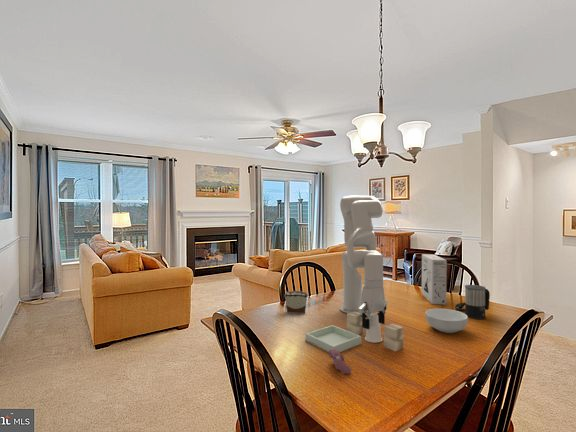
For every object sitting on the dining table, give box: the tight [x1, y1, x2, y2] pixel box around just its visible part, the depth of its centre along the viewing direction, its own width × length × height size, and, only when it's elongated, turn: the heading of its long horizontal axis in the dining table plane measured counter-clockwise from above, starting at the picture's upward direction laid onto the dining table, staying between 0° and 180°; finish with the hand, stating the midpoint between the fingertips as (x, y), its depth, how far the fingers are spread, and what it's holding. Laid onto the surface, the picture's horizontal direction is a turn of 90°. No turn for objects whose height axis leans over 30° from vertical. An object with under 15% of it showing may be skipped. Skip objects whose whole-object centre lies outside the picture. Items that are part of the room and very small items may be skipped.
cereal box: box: [421, 253, 448, 306], centre depth 188 cm, size 22×8×25 cm, turn 172°
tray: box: [304, 324, 362, 353], centre depth 127 cm, size 16×16×3 cm
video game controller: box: [327, 349, 352, 375], centre depth 107 cm, size 10×5×7 cm, turn 5°
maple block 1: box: [346, 311, 364, 336], centre depth 138 cm, size 5×5×8 cm
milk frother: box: [455, 284, 491, 320], centre depth 162 cm, size 14×16×15 cm
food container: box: [283, 290, 309, 315], centre depth 166 cm, size 12×6×10 cm, turn 84°
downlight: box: [362, 313, 383, 344], centre depth 130 cm, size 8×7×10 cm
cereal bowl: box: [425, 308, 469, 334], centre depth 141 cm, size 17×17×7 cm
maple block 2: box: [383, 323, 404, 352], centre depth 123 cm, size 5×5×8 cm
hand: (373, 325), depth 130 cm, fingers open, 9 cm apart
